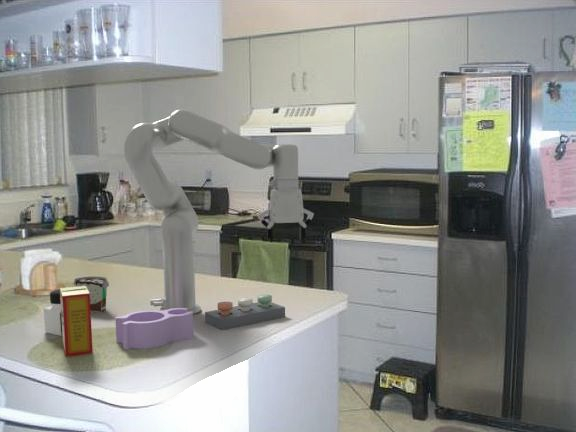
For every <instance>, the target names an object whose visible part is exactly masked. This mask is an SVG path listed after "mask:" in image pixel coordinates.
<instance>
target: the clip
mask: <svg viewBox="0 0 576 432" xmlns="http://www.w3.org/2000/svg"><path fill="white" fill-rule="evenodd" d="M114 320H115V336H116V338H115V339H116V343H118V344H122V347H123V350H130V349H151V348H157V347H161V346H165V345H166V344H169V343H171V342H174V341H184V340H187V339H192V338H193V337H194V314H193V311H189V312H188V308H173V309H168V310H162V311H160V310H140V311H134V312H133V311H132V312H130V313H128V314H125V315H123V316H116V317H115V319H114Z"/></svg>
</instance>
